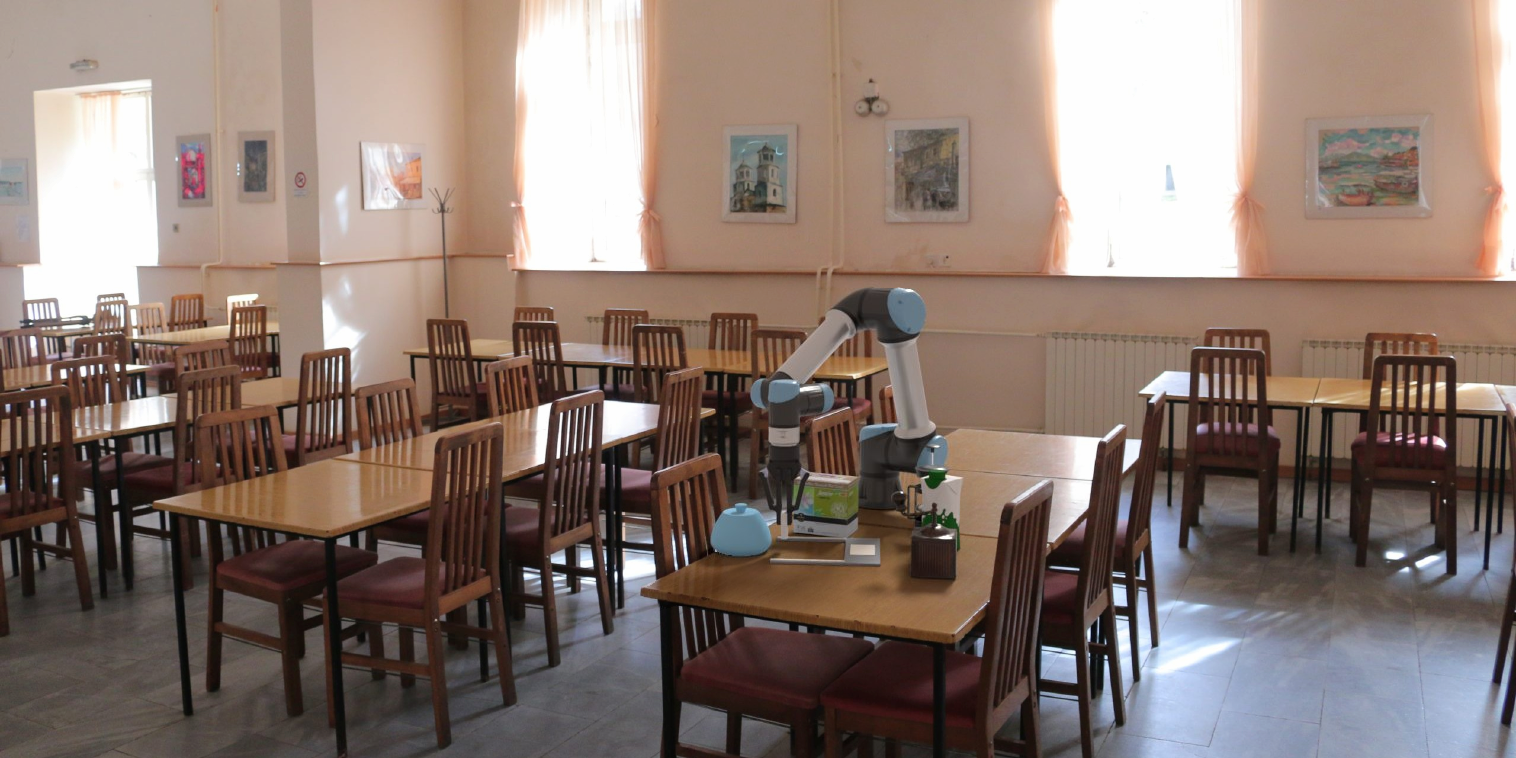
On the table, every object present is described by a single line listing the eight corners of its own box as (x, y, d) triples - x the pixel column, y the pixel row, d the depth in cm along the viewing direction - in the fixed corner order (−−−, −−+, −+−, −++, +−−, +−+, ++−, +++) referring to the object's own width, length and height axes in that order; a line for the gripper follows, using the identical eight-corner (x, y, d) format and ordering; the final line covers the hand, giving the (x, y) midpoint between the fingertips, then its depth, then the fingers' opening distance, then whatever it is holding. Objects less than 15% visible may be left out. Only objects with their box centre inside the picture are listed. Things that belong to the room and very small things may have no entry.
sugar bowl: (743, 538, 298) (742, 494, 296) (784, 550, 287) (783, 504, 286) (698, 549, 288) (697, 503, 286) (739, 561, 277) (738, 514, 275)
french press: (955, 528, 307) (957, 443, 304) (947, 537, 298) (949, 449, 295) (912, 524, 311) (913, 440, 308) (902, 533, 302) (904, 446, 299)
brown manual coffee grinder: (957, 566, 272) (958, 491, 270) (956, 580, 261) (957, 502, 259) (890, 563, 275) (891, 488, 273) (887, 576, 264) (888, 499, 262)
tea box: (792, 533, 302) (792, 478, 300) (805, 524, 312) (805, 470, 310) (847, 539, 297) (847, 482, 295) (859, 530, 306) (859, 475, 304)
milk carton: (915, 549, 287) (916, 469, 285) (936, 541, 294) (937, 464, 291) (945, 555, 281) (946, 474, 279) (966, 548, 288) (967, 469, 285)
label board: (777, 538, 298) (777, 535, 298) (879, 540, 295) (879, 537, 295) (769, 563, 275) (769, 560, 275) (880, 566, 273) (880, 563, 273)
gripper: (755, 445, 280) (756, 541, 283) (809, 446, 279) (809, 542, 282) (759, 440, 287) (759, 533, 290) (811, 441, 286) (811, 534, 289)
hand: (784, 537), depth 286 cm, fingers closed
